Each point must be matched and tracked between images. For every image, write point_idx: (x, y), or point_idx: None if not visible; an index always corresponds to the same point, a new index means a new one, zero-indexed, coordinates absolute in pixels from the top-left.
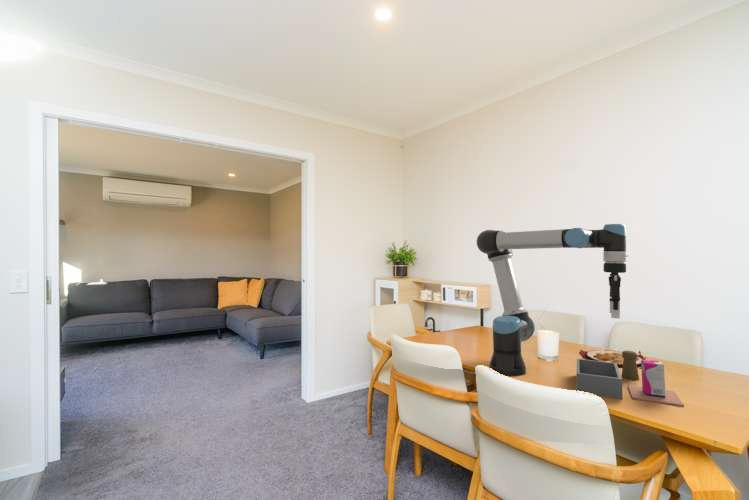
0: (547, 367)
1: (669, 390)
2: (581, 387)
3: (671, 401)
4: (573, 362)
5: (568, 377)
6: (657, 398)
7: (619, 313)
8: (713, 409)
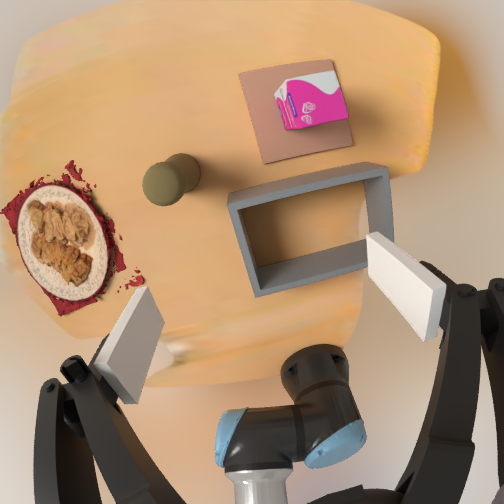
0: (238, 334)
1: (241, 82)
2: None
3: None
4: None
5: None
6: None
7: (393, 244)
8: (304, 20)
